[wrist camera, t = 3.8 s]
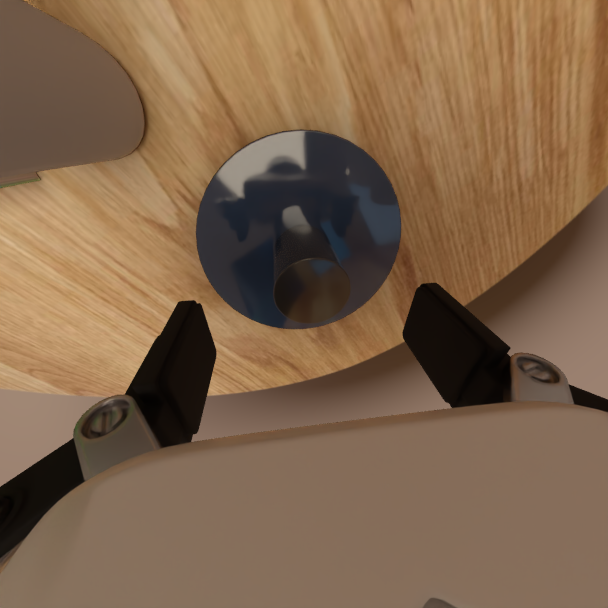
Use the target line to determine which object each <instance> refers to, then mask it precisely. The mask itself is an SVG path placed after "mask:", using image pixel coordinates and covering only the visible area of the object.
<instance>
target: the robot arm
mask: <svg viewBox="0 0 608 608" xmlns="http://www.w3.org/2000/svg"><path fill="white" fill-rule="evenodd" d="M403 339H404V340H405V342H406V343H407V345H408V346H409V348H410V349H411V351H412V352H413V354H414V355H415V357H416V359H417V360H418V361H419V363H420V365H421V366H422V368H423V369H424V371H425V372H426V374H427V375H428V377H429V378H430V380H431V381H432V383H433V384H434V386H435V387H436V389H437V390H438V392H439V393H440V395H441V396H442V398H443V399H444V401H445V402H447V403H449V404H450V406H451V407H452V408H450V409H442V410H434V411H425V412H417V413H408V414H399V415H391V416H383V417H376V418H367V419H359V420H352V421H343V422H336V423H327V424H319V425H312V426H304V427H296V428H289V429H281V430H273V431H265V432H258V433H250V434H243V435H236V436H229V437H223V438H215V439H209V440H202V441H195V442H191V440H192V436H193V434H196V433H197V432H198V429H199V426H200V422H201V417H202V413H203V409H204V405H205V401H206V397H207V393H208V389H209V384H210V380H211V376H212V372H213V368H214V364H215V360H216V348H215V345H214V342H213V339H212V336H211V333H210V330H209V327H208V323H207V320H206V317H205V314H204V311H203V308H202V305H201V304H200V303H198V304H197V303H196V301H194V300H191V301H180V302H178V304H177V306H176V307H175V309H174V311H173V313H172V315H171V317H170V318H169V320H168V322H167V324H166V326H165V327H164V329H163V331H162V333H161V335H159V336H158V337H157V338H156V340H155V341H154V343H153V345H152V347H151V348H150V350H149V352H148V354H147V356H146V357H145V359H144V361H143V363H142V365H141V366H140V368H139V370H138V372H137V373H136V375H135V377H134V379H133V381H132V382H131V384H130V386H129V388H128V390H127V391H126V393H125V395H115V396H111V397H108V398H106V399H104V400H102V401H100V402H98V403H97V404H95V405H94V406H92V407H91V408H90V409H89V410H87V411H86V412H85V413H84V414H83V415H82V417H81V418H80V419H79V421H78V422H77V424H76V426H75V429H74V434H73V437H74V438H73V439H71V440H70V441H69V442H67V443H65V444H64V445H62V446H61V447H59V448H58V449H57V450H55V451H53V452H52V453H50V454H49V455H47V456H46V457H44V458H43V459H41V460H40V461H38V462H37V463H35V464H34V465H32V466H31V467H29V468H28V469H26V470H25V471H24V472H22V473H20V474H19V475H17V476H16V477H15V478H13V479H11V480H10V481H8V482H7V483H6V484H4V485H2V486H1V487H0V608H608V400H607V399H605V398H602V397H600V396H597V395H594V394H592V393H590V392H587V391H584V390H582V389H579V388H576V387H574V386H571V385H569V384H568V381H567V378H566V377H565V375H564V373H563V372H562V371H561V370H560V369H559V368H558V367H556V366H555V365H554V364H552V363H551V362H549V361H547V360H545V359H544V358H541V357H539V356H536V355H533V354H529V353H515V354H514V355H512V356H511V357H510V356H509V355H508V354H507V353H508V351H509V350H510V347H509V346H508V345H507V344H506V343H504V342H503V341H502V340H501V339H500V338H499V337H498V336H497V335H495V334H494V333H493V332H492V331H491V330H490V329H488V328H487V327H486V326H485V325H484V324H483V323H482V322H480V321H479V320H478V319H477V318H476V317H475V316H474V315H473V314H472V313H470V312H469V311H468V310H467V309H466V308H465V307H464V306H462V305H461V304H460V303H459V302H458V301H457V300H456V299H454V298H453V297H452V296H451V295H450V294H449V293H448V292H447V291H445V290H444V289H443V288H442V287H441V286H440V285H439V284H437V283H426V284H421V285H420V287H418V288H417V289H416V292H415V295H414V298H413V301H412V304H411V307H410V311H409V314H408V317H407V320H406V323H405V326H404V329H403Z"/></svg>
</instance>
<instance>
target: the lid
mask: <svg viewBox="0 0 608 608" xmlns="http://www.w3.org/2000/svg"><path fill="white" fill-rule="evenodd" d="M400 238H401V217H400V209H399V205H398V200H397V197H396V194H395V192H394V189H393V187H392V184H391V183H390V181H389V179H388V177H387V176H386V174H385V172H384V171H383V170H382V168H381V167H380V166H379V165H378V164H377V162H376V161H375V160H374V159H373V158H372V157H371V156H369V155H368V154H367V153H366V152H365V151H364V150H363V149H361V148H359V147H358V146H356V145H355V144H353V143H352V142H350V141H348V140H345V139H343V138H341V137H338V136H336V135H333V134H329V133H325V132H321V131H313V130H291V131H282V132H279V133H275V134H271V135H267V136H265V137H262V138H260V139H258V140H256V141H253V142H251V143H249V144H248V145H246V146H245V147H243V148H242V149H240V150H239V151H237V152H236V153H235V154H234V155H233V156H231V157H230V158H229V159H228V160H227V161H226V162H225V163H224V164H223V165H222V166H221V168H220V169H219V170H218V171H217V173H216V174H215V175H214V176H213V178H212V180H211V182H210V183H209V185H208V187H207V188H206V190H205V193H204V196H203V198H202V201H201V203H200V207H199V212H198V216H197V225H196V240H197V249H198V253H199V258H200V261H201V264H202V267H203V269H204V272H205V274H206V276H207V278H208V280H209V282H210V283H211V285H212V286H213V287H214V289H215V290H216V292H217V293H218V294H219V295H220V296H221V297H222V299H223V300H224V301H225V302H226V303H228V304H229V305H230V306H231V307H232V308H233V309H235V310H236V311H238V312H239V313H241V314H242V315H244V316H246V317H248V318H250V319H252V320H254V321H256V322H259V323H261V324H265V325H268V326H272V327H277V328H283V329H307V328H314V327H319V326H323V325H326V324H329V323H332V322H335V321H337V320H340V319H342V318H344V317H346V316H347V315H349V314H351V313H353V312H354V311H356V310H357V309H358V308H360V307H361V306H362V305H364V304H365V303H366V302H367V301H368V300H369V299H370V298H371V297H372V296H373V295H374V294H375V293H376V292H377V291H378V289H379V288H380V287H381V285H382V284H383V283H384V281H385V280H386V278H387V276H388V274H389V273H390V271H391V269H392V266H393V264H394V262H395V259H396V256H397V252H398V249H399V243H400Z"/></svg>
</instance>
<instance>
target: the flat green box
mask: <svg viewBox="0 0 608 608" xmlns="http://www.w3.org/2000/svg"><path fill="white" fill-rule="evenodd" d="M39 180H40V178H39V177H38V175H37V174H36V172H32V173H26V174H20V175H14V176H9V177H3V178H0V188H3V187H8V186H14V185H19V184H24V183H29V182H34V181H39Z"/></svg>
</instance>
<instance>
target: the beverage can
mask: <svg viewBox="0 0 608 608" xmlns="http://www.w3.org/2000/svg"><path fill="white" fill-rule="evenodd" d="M144 124H145V122H144V115H143V107H142V104H141V101H140V99H139V96H138V93H137V90H136V89H135V87H134V85H133V83H132V82H131V80H130V78H129V77H128V75H127V73H126V72H125V71H124V70H123V68H122V67H121V66H120V65H119V64H118V62H117V61H116V60H115V59H114V58H113V57H112V56H111V55H110V54H109V53H108V52H107V51H106V50H104V49H103V48H102V47H101V46H100V45H99V44H98V43H96V42H95V41H93V40H92V39H90V38H89V37H87V36H85V35H84V34H82V33H81V32H79V31H77V30H76V29H74V28H72V27H70V26H68V25H66V24H64V23H63V22H61V21H59V20H57V19H55V18H53V17H52V16H50V15H48V14H46V13H44V12H42V11H41V10H39V9H37V8H35V7H33V6H31V5H30V4H28V3H26V2H24V1H22V0H0V178H3V177H9V176H14V175H20V174H26V173H32V172H38V171H44V170H50V169H56V168H63V167H69V166H76V165H83V164H90V163H96V162H103V161H110V160H116V159H120V158H122V157H124V156H126V155H128V154H130V153H131V152H132V151H133V150H134V149H136V148H137V147H138V145H139V143H140V141H141V139H142V137H143V132H144Z"/></svg>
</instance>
